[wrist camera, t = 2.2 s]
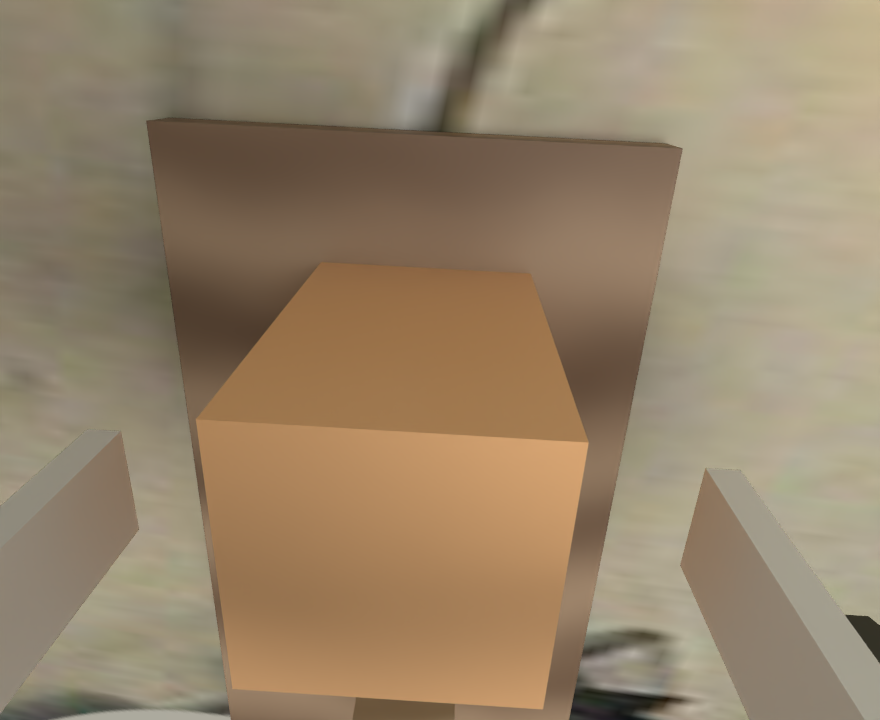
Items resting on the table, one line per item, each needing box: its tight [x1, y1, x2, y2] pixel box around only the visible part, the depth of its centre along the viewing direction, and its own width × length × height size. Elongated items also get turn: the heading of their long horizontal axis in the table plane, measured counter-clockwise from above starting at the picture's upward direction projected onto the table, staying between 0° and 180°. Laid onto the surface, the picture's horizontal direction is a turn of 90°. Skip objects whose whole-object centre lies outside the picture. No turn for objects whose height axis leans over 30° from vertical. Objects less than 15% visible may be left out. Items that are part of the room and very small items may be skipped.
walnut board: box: [146, 118, 682, 720], centre depth 23 cm, size 26×15×2 cm, turn 177°
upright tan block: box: [196, 262, 589, 709], centre depth 16 cm, size 6×6×10 cm
